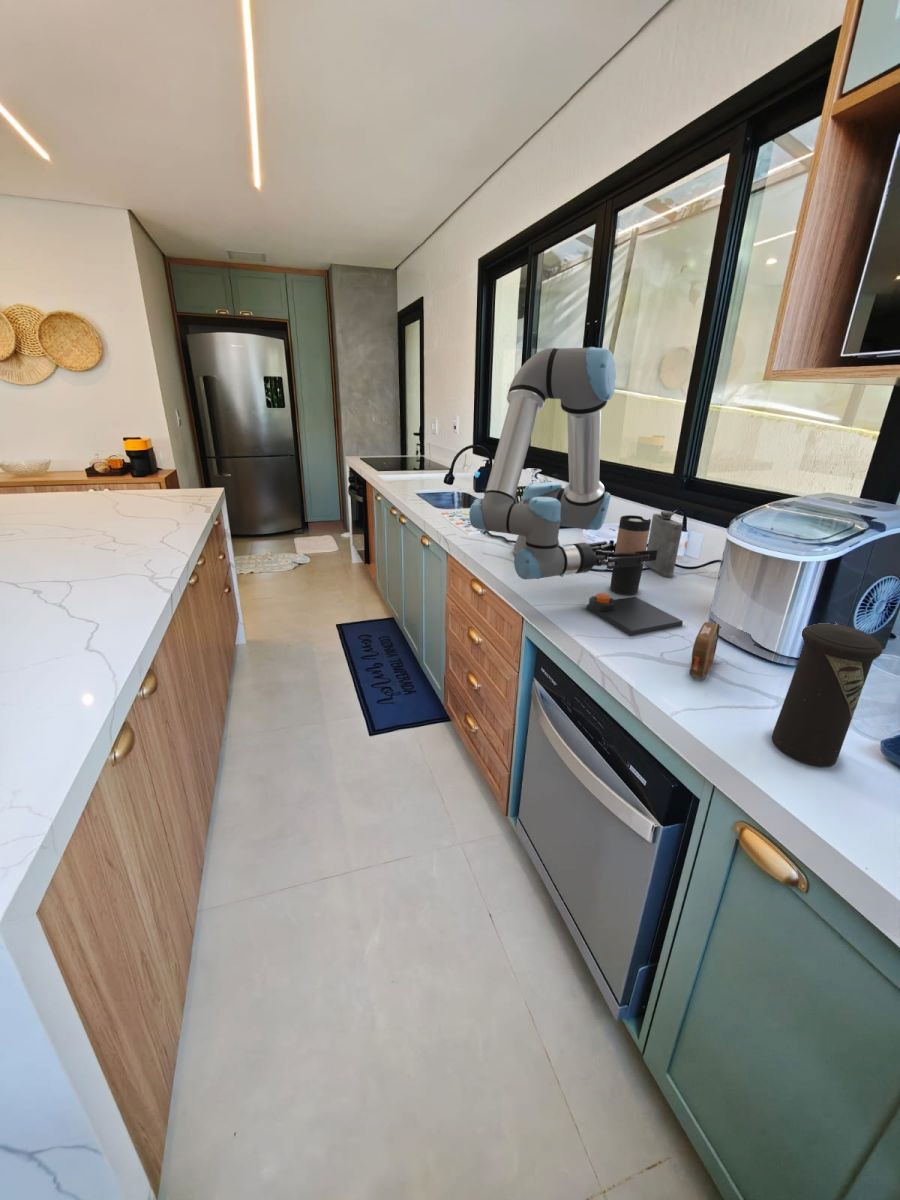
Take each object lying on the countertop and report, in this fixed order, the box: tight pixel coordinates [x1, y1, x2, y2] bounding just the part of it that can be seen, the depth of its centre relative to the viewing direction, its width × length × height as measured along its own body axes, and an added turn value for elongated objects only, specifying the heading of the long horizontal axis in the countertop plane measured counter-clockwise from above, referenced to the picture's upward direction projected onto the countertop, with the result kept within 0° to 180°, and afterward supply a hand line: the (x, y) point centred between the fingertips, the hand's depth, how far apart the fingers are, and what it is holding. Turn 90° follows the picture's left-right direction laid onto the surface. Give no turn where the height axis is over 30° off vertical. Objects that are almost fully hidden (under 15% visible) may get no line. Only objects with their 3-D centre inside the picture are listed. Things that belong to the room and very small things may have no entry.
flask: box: [644, 510, 684, 578], centre depth 151 cm, size 4×14×18 cm, turn 6°
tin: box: [688, 621, 720, 681], centre depth 97 cm, size 15×3×8 cm, turn 145°
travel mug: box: [609, 514, 652, 596], centre depth 133 cm, size 8×8×20 cm
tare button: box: [595, 593, 611, 604], centre depth 122 cm, size 3×3×2 cm
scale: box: [586, 595, 684, 637], centre depth 120 cm, size 16×16×3 cm
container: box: [771, 623, 883, 768], centre depth 73 cm, size 9×9×20 cm
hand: (644, 550), depth 135 cm, fingers closed on travel mug, 7 cm apart
